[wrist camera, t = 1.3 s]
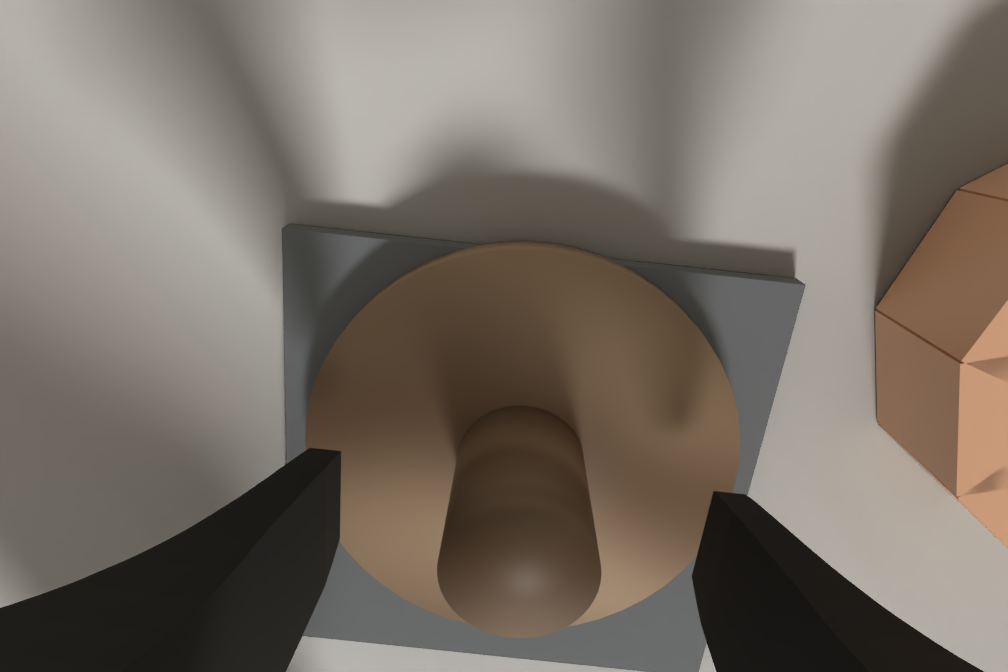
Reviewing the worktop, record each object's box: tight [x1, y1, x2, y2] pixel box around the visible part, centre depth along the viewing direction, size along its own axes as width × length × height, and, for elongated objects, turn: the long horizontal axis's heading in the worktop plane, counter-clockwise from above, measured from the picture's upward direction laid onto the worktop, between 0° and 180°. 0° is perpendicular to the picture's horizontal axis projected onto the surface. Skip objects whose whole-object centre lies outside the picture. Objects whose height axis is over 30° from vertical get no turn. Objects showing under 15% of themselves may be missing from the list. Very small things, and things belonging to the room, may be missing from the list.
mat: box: [282, 224, 805, 672], centre depth 16 cm, size 11×11×1 cm
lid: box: [305, 241, 740, 638], centre depth 13 cm, size 10×10×4 cm
